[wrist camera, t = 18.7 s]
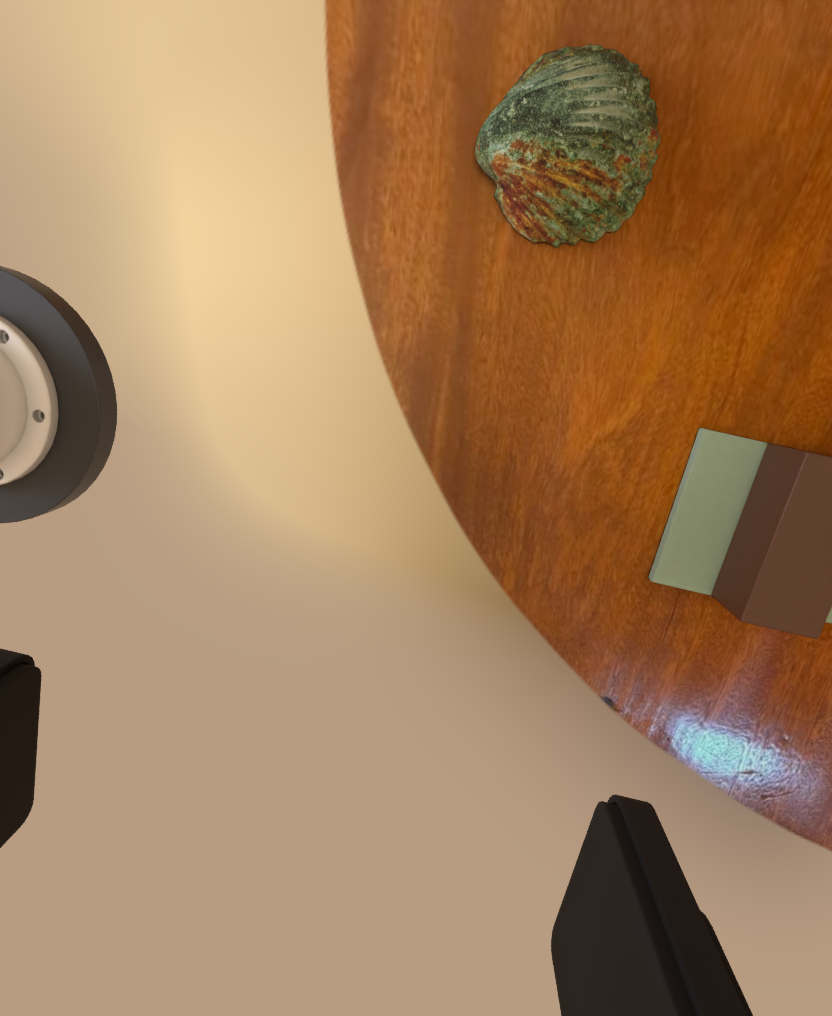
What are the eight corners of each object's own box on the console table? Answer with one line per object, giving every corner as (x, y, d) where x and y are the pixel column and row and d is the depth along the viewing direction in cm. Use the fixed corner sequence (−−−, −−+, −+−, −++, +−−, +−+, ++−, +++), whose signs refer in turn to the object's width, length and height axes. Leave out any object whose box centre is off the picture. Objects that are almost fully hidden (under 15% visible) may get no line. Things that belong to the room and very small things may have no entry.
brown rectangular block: (710, 595, 36) (740, 621, 32) (767, 442, 34) (807, 451, 30) (779, 611, 36) (818, 639, 32) (841, 459, 34) (891, 470, 30)
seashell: (666, 232, 29) (466, 214, 29) (640, 255, 33) (465, 239, 33) (703, 7, 27) (491, -7, 27) (671, 61, 31) (486, 48, 32)
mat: (647, 577, 37) (651, 582, 36) (699, 427, 35) (704, 428, 34) (829, 619, 37) (837, 625, 36) (893, 471, 35) (903, 473, 34)
